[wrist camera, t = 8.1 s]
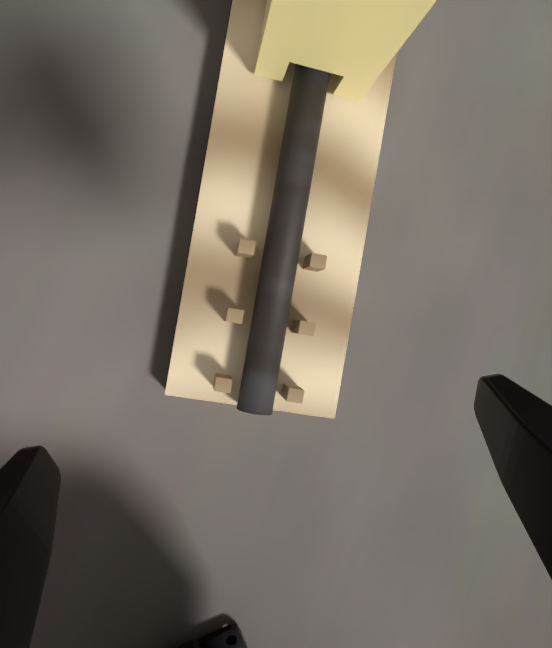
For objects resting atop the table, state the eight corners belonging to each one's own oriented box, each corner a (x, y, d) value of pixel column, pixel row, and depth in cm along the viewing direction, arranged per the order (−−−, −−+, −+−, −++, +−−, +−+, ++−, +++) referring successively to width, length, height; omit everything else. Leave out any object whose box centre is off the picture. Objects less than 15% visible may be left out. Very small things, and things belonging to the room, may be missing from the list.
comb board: (327, 413, 24) (357, 436, 19) (166, 390, 22) (159, 408, 18) (400, -17, 24) (446, -91, 19) (244, -66, 22) (256, -157, 18)
